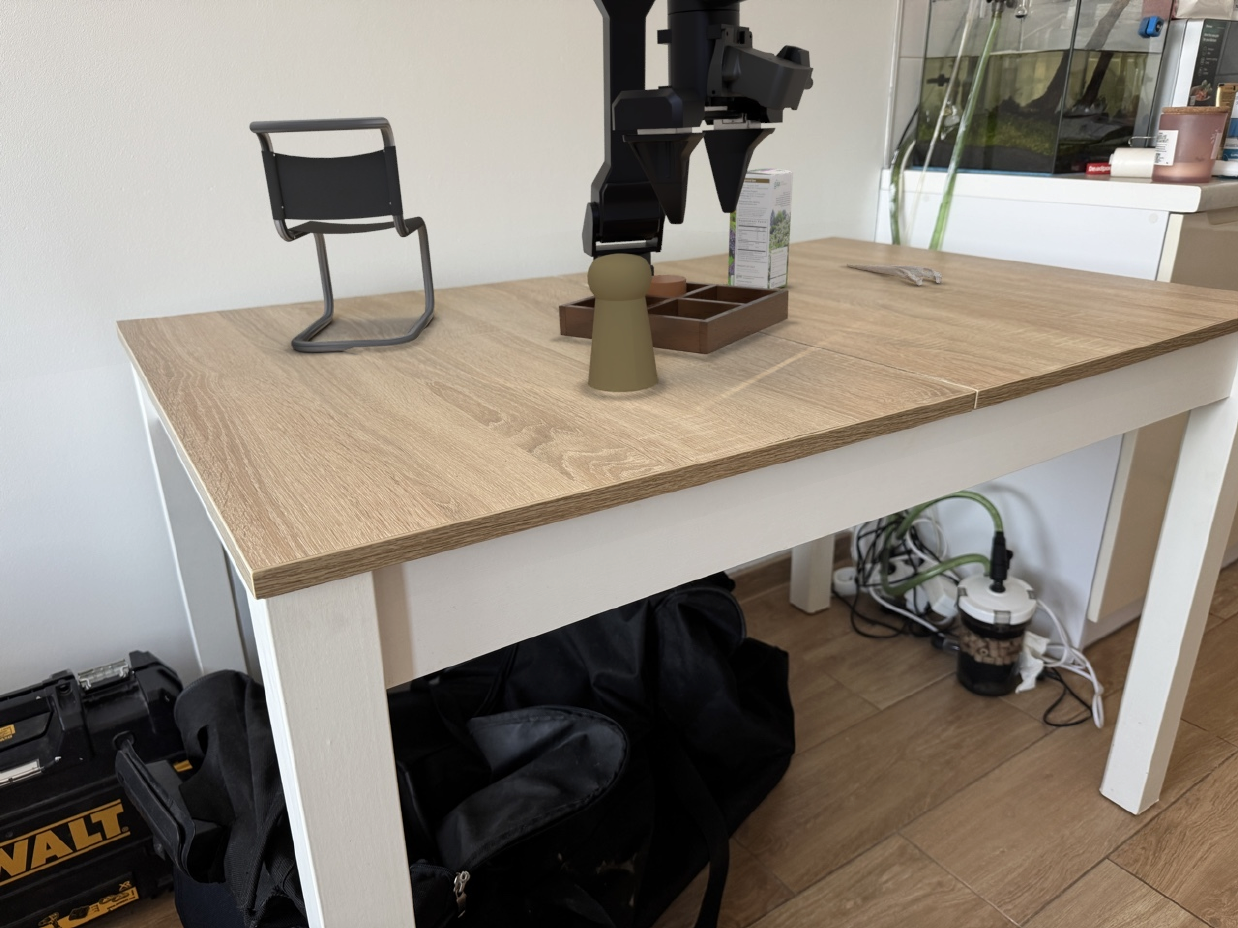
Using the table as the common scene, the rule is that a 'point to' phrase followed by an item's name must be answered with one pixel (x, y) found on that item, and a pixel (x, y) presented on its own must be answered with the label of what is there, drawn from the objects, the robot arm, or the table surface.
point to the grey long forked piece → (902, 272)
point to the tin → (667, 285)
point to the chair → (339, 208)
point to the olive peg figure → (621, 325)
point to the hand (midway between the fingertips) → (703, 218)
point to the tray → (693, 316)
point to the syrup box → (761, 230)
